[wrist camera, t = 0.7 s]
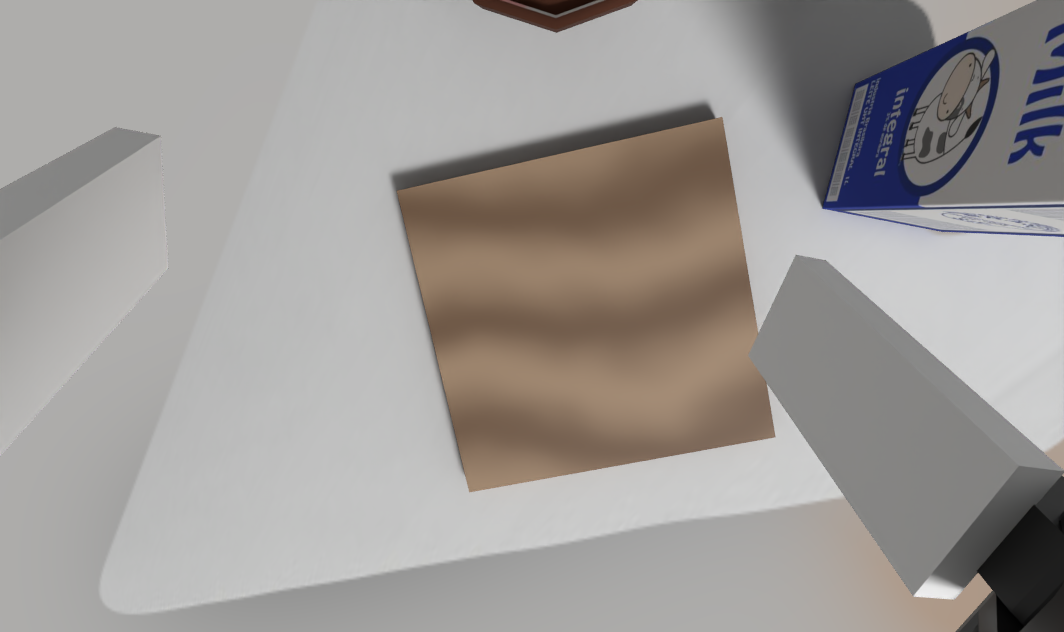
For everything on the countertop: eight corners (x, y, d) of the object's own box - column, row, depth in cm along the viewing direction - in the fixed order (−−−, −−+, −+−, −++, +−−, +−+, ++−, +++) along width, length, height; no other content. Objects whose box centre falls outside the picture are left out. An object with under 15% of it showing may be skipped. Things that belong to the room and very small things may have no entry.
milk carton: (856, 79, 34) (1254, -110, 14) (981, 103, 34) (1562, -56, 14) (820, 211, 35) (1144, 206, 15) (942, 235, 35) (1426, 260, 15)
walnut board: (402, 191, 36) (396, 190, 35) (717, 120, 35) (722, 117, 33) (472, 483, 39) (469, 492, 38) (768, 430, 37) (775, 437, 36)
